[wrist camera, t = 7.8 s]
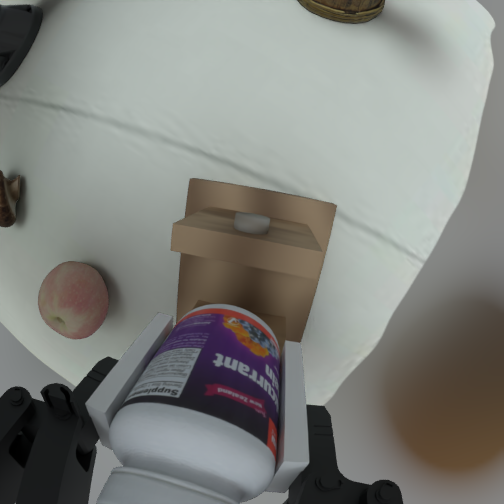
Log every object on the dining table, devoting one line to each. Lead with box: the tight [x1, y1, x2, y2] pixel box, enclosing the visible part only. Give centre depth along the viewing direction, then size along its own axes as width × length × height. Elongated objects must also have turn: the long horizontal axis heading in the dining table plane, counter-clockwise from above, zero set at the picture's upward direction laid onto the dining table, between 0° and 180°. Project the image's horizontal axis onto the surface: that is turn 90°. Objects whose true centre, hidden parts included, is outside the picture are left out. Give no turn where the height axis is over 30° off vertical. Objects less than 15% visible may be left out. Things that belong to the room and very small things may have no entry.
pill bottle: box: [96, 304, 280, 504], centre depth 8 cm, size 5×5×10 cm
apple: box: [38, 261, 109, 339], centre depth 23 cm, size 8×8×8 cm
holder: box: [171, 178, 337, 357], centre depth 20 cm, size 12×14×10 cm
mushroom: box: [0, 170, 20, 227], centre depth 23 cm, size 8×8×6 cm
